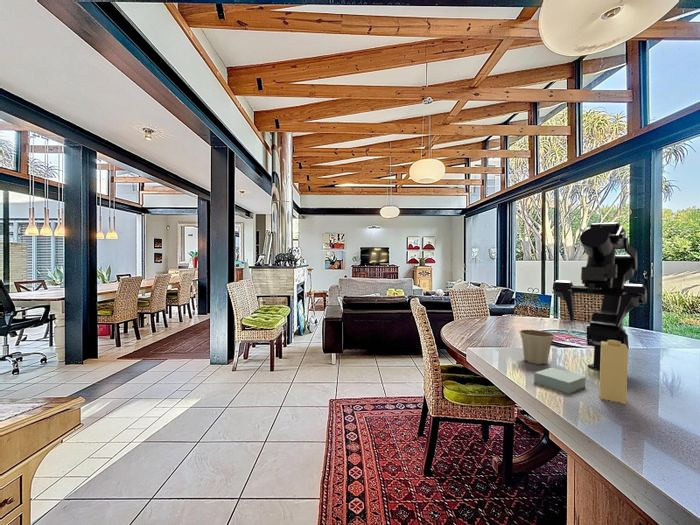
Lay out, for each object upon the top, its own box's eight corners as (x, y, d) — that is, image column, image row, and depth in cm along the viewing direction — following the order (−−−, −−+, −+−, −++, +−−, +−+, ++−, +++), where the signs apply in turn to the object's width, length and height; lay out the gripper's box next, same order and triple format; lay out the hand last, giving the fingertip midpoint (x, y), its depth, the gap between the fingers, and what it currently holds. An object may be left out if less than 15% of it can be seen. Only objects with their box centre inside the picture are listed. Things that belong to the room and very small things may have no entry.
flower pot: (559, 367, 99) (560, 337, 98) (523, 364, 100) (524, 335, 100) (547, 358, 108) (548, 330, 108) (514, 355, 110) (515, 328, 110)
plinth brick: (551, 377, 90) (551, 367, 90) (585, 387, 84) (585, 376, 84) (534, 382, 86) (534, 372, 86) (568, 393, 79) (568, 382, 79)
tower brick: (599, 392, 80) (601, 337, 80) (623, 397, 78) (625, 340, 78) (600, 398, 77) (602, 341, 77) (626, 404, 74) (628, 344, 74)
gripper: (551, 251, 90) (542, 307, 86) (645, 251, 77) (640, 317, 73) (561, 270, 98) (553, 322, 93) (648, 272, 85) (644, 333, 80)
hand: (593, 323), depth 84 cm, fingers open, 9 cm apart
